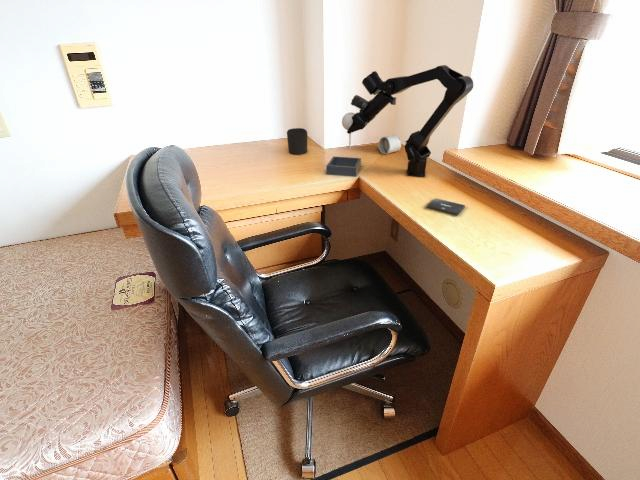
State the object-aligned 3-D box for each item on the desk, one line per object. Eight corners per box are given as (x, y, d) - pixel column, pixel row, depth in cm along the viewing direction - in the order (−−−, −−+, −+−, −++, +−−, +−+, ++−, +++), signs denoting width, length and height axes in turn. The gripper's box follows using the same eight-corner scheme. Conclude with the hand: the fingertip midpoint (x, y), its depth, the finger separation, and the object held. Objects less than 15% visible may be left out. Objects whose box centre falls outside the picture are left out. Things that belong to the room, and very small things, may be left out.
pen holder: (311, 150, 167) (311, 129, 162) (300, 156, 160) (299, 134, 155) (295, 148, 171) (294, 127, 166) (284, 153, 165) (282, 131, 159)
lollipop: (357, 146, 154) (358, 110, 146) (359, 151, 148) (360, 114, 140) (340, 146, 154) (341, 111, 146) (342, 151, 148) (342, 114, 140)
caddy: (360, 166, 148) (361, 158, 146) (356, 176, 138) (356, 167, 136) (333, 164, 151) (333, 156, 149) (326, 174, 141) (326, 165, 139)
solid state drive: (458, 215, 108) (458, 213, 108) (426, 207, 113) (427, 205, 113) (464, 207, 113) (465, 205, 113) (434, 199, 118) (435, 197, 118)
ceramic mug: (401, 152, 162) (403, 136, 158) (388, 156, 159) (390, 138, 155) (386, 147, 170) (387, 131, 166) (373, 150, 166) (374, 134, 162)
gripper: (369, 84, 144) (343, 111, 153) (357, 91, 129) (329, 121, 138) (387, 105, 146) (360, 131, 155) (377, 115, 131) (348, 142, 140)
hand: (349, 130), depth 147 cm, fingers closed on lollipop, 6 cm apart
